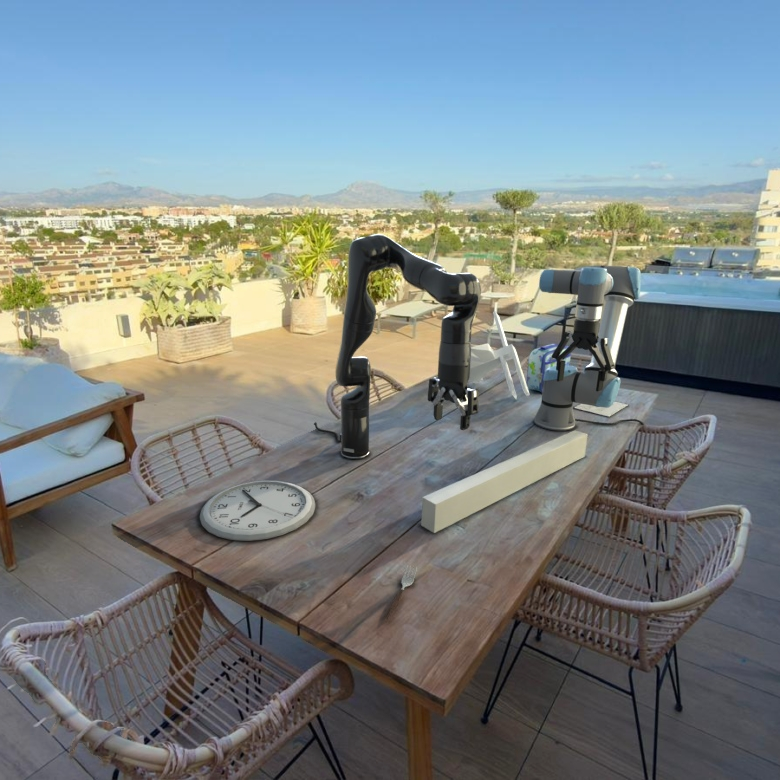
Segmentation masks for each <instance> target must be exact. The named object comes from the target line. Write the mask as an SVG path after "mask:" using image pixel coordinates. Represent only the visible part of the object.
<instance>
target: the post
mask: <svg viewBox="0 0 780 780" xmlns="http://www.w3.org/2000/svg"><path fill="white" fill-rule="evenodd" d="M588 435H589V433H586V432H582V431H579V430H576V429H575V430H574V429H573V430H571V431H570V432H568V433H565V434H563V435H561V436H559V437H556V438H554V439H552V440H550V441H547V442H545V443H542V444H540V445H538V446H536V447H533V448H531V449H529V450H527V451H525V452H522V453H520V454H518V455H515V456H513V457H511V458H509V459H506V460H504V461H501V462H499V463H497V464H495V465H492V466H490V467H488V468H485V469H484V470H481V471H479V472H477V473H474V474H472V475H470V476H467V477H465V478H463V479H460V480H458V481H456V482H453V483H451V484H449V485H447V486H445V487H442V488H440V489H438V490H435V491H433V492H431V493H428V494H427V495H424V496H422V497H421V499H422V500H421V522H420V524H421V525H420V526H422V527H423V528H424V529H426V530H428V531H430V532H431V533H433V534H436V533H438V532H440V531H442V530H444V529H446V528H448V527H451V525H454V524H455V523H457V522H459V521H461V520H463V519H465V518H467V517H469V516H471V515H473V514H475V513H477V512H479V511H481V510H483V509H485V508H487V507H489V506H491V505H492V504H495V503H496V502H498V501H500V500H503V499H504V498H507V497H509V496H510V495H513V494H514V493H516V492H518V491H520V490H522V489H524V488H526V487H528V486H530V485H532V484H534V483H536V482H538V481H539V480H542V479H543V478H546V477H548V476H549V475H552V474H553V473H555V472H557V471H559V470H562V469H563V468H565V467H568V466H569V465H571V464H573V463H575V462H577V461H578V460H581V459H582V458H585V456H586V450H587V444H588Z"/></svg>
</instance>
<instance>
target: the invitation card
mask: <svg viewBox="0 0 780 780" xmlns="http://www.w3.org/2000/svg"><path fill="white" fill-rule="evenodd" d="M628 406H629V404H627V403H623V402H618V401H614V403H613V404H612V406H610V407H608V408H604V407H596V406H591V405H586V404H580V403H579V404H578V405H575V406H574V407H573V409H575V410H581V411H584V412H587V413H593V414H596V415H600V416H604V417H608V418H609V417H611V416H613V415H614V414H616V413H617V412H619V411H621V410H623V409H624V408H626V407H628Z"/></svg>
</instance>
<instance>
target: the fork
mask: <svg viewBox="0 0 780 780" xmlns="http://www.w3.org/2000/svg"><path fill="white" fill-rule="evenodd" d="M408 566H409V565H408V563H407V564H406V567H405V570H404V572H403V575H402V578H401V580H400V581H401V583H400V584H401V585H402V587H401V588H400V590H399V591H398V593H397V594H396V596H395V597H394V599H393V600H392V604H391V606H390V608H389V611H388V614H387V616H386V620H388V619H389V618H390V617H391V615H392V613H393V612H394V610H395V609H396V607H397V606H398V605H399V604H400V601H401V598H402V595H403V592H404V590H405V588H407V587H409V586H412V585H413V583H414V581H415V578H416V573H417V569H418V566H416V567H415V566H414V565H411V564H410V566H409V568H408ZM411 566H412V569H411ZM414 567H415V570H414ZM410 571H411V572H410Z"/></svg>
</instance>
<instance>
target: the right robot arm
mask: <svg viewBox="0 0 780 780" xmlns="http://www.w3.org/2000/svg"><path fill="white" fill-rule="evenodd" d="M641 274H642V273H641V270H640V269H639V268H638V267H635V266H629V265H628V266H620V265H618V266H617V265H601V264H596V265H587V266H581V267H580V266H579V267H576V268H574V269H553V268H552V269H543V270H542V272H541V273H540V276H539V279H538V280H539V281H538V283H539V284H538V286H539V287H538V288H539V290H540V292H542V293H548V294H560V295H562V294H563V295H574V296H577V298H576V307H575V315H574V317H575V319H574V322H573V332H571V331H570V330H567V331H564V332H563V333H562V338H561V339H560V341H559V343H558V344H557V345H558V346H557V348H556V349H555V351H554V353H553V354H552V358H555V359H556V360H557V364H556V366H553V367H550V368H548V369H546V371H545V375H544V379H543V381H544V382H543V391H542V393H541V402H540V405H539V407H538V410H537V411H536V413H535V417H534V424H535V425H536V426H537V427H539V428H542V429H544V430H549V431H556V432H567V431H573V430H574V429H575V428H576V422H581V423H587V424H595V425H602V426H615V425H618V424H619V423H626V422H637V423H639V424H640V425H643V426H644V425H645V424H644V422H643V421H641V420H639V419H637V418H627V419H619V420H617V421H615V422H603V421H602V422H600V421H594V420H593V421H592V420H586V419H580V418H575V417H576V416H575V413H574V407H573V405H574V403H575V404H579V405H580V404H586V405H591V406H596V407H604V408H608V407H610V406H612V404H613V403H614V402H616V399H617V396H618V394H619V390H620V386H621V378H620V377H619V376H618V374H619V372H618V371H617V370H616V363H617V359H618V355H619V349H620V345H621V341H622V337H623V331H624V328H625V322H626V319H627V313H628V310H629V309H628V308H630V307H631V306H633V305H634V302H635V300H636V301H637V300H640V296H641V288H642V287H641V284H642V275H641ZM570 339H572V341H573V342H571V343H570V344H569V345H568V346H569V347H568V348H567V349H566V350H565V351H564V352H563V353H562V354H561V352H562V350H563V349H564V347H565V346H567V344H568V343H569V341H570ZM576 349H581V350H584V351H589V352H590V353H591V358H590V363H589V364H588V365H587V366H585V367H584V370H583V371H582V372H581V371H578V367H577V366H573V365H570V366H568V365H565V362H566V361H563V360H564V358H566V357H567V356H568V355H569V354H570V353H571V354H572V352H574V351H575V350H576Z"/></svg>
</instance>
